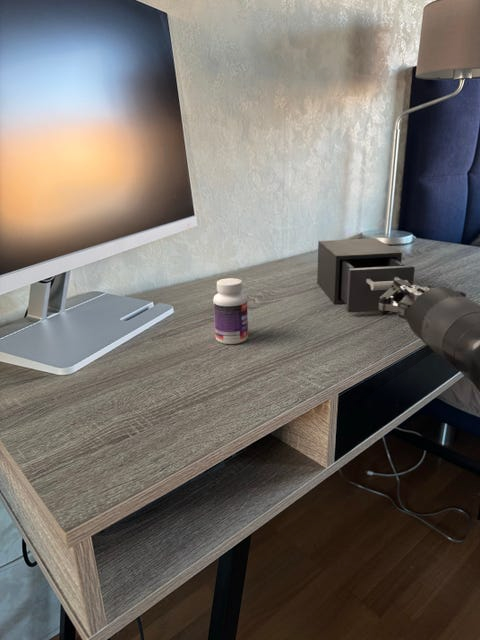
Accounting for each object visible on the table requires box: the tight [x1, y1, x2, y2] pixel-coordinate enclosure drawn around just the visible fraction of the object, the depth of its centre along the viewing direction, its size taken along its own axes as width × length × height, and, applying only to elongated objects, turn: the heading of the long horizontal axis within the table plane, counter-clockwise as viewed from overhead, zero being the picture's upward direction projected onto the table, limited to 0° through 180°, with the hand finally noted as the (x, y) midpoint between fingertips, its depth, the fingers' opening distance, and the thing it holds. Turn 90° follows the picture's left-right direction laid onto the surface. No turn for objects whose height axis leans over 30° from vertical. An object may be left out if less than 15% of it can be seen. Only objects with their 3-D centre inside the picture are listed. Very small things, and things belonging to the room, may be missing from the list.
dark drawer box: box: [339, 257, 416, 313], centre depth 83 cm, size 18×11×8 cm, turn 4°
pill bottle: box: [212, 277, 249, 345], centre depth 71 cm, size 5×5×10 cm
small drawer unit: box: [316, 237, 403, 305], centre depth 92 cm, size 15×13×10 cm
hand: (397, 285), depth 71 cm, fingers closed
